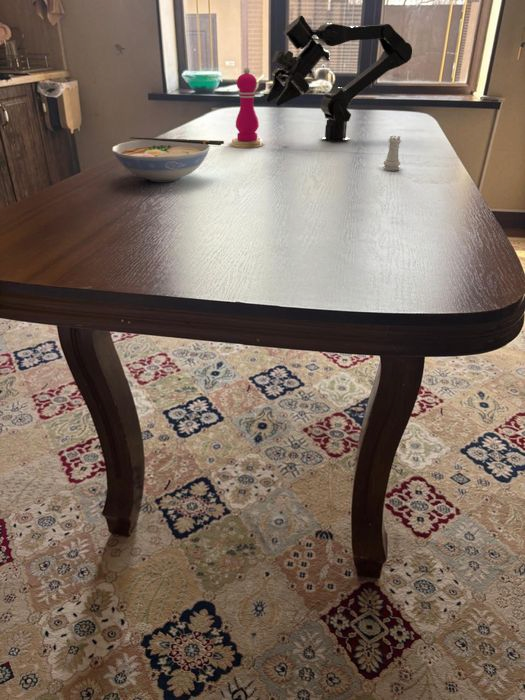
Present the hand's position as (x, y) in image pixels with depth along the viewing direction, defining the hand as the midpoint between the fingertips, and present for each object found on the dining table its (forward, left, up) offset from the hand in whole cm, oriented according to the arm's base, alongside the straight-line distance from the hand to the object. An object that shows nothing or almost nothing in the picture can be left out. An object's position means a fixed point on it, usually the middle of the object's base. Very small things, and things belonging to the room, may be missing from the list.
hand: (271, 102), depth 161 cm
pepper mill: (+7, -3, -11) cm, 13 cm away
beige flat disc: (+8, -3, -12) cm, 14 cm away
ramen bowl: (+50, +22, -12) cm, 56 cm away
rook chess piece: (-3, +47, -12) cm, 49 cm away
